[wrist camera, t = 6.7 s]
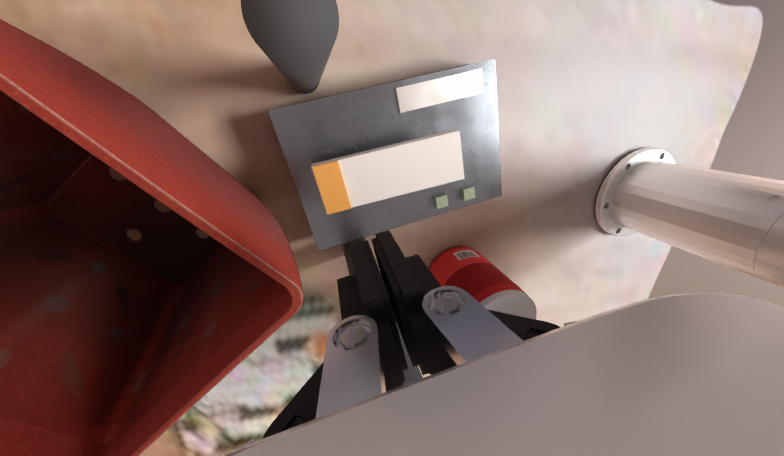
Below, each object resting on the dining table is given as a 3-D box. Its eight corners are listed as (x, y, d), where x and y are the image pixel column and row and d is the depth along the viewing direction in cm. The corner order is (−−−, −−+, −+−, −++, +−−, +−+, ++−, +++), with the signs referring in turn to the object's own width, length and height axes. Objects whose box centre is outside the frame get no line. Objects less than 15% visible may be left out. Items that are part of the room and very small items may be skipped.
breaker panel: (472, 64, 29) (507, 55, 24) (481, 186, 35) (512, 200, 30) (273, 109, 26) (264, 110, 21) (317, 234, 32) (319, 259, 27)
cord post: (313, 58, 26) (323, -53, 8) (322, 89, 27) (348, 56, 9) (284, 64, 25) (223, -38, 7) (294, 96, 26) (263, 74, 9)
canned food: (414, 273, 37) (451, 334, 27) (461, 232, 37) (516, 278, 27) (446, 305, 41) (490, 368, 31) (490, 267, 40) (548, 319, 30)
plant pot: (-36, 204, 23) (-659, 380, 8) (122, 32, 22) (-283, -127, 7) (187, 321, 32) (78, 513, 17) (312, 203, 30) (314, 298, 15)
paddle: (454, 129, 24) (460, 130, 23) (459, 175, 26) (465, 179, 25) (312, 163, 23) (310, 167, 22) (327, 209, 25) (326, 214, 24)
